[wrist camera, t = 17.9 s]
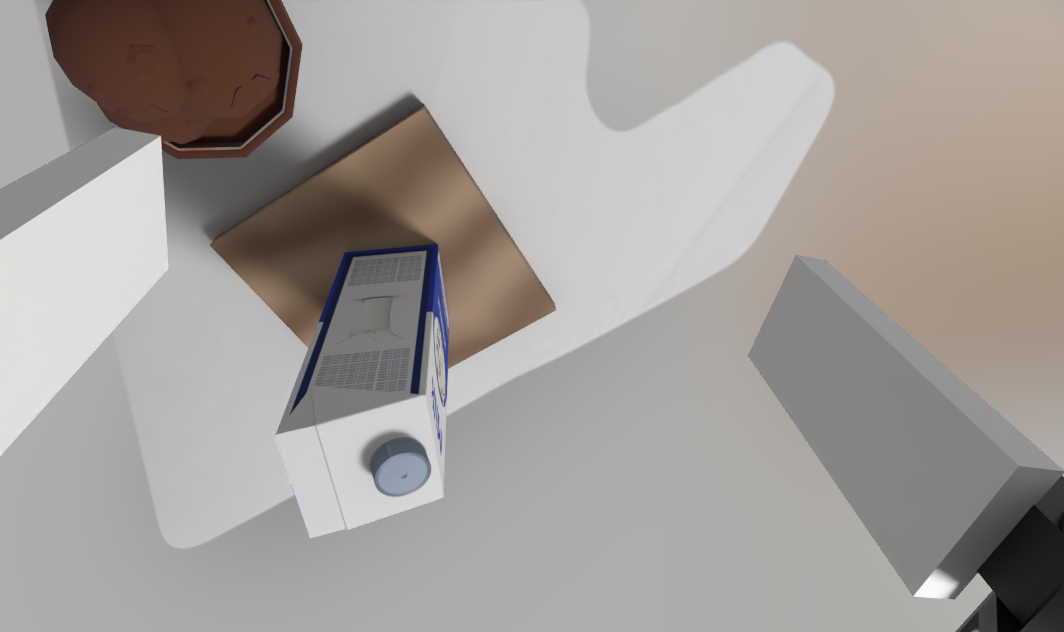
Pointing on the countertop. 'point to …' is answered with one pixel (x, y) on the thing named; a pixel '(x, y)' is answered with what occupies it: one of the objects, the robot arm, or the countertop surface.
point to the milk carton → (371, 393)
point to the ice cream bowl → (183, 68)
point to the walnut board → (390, 237)
